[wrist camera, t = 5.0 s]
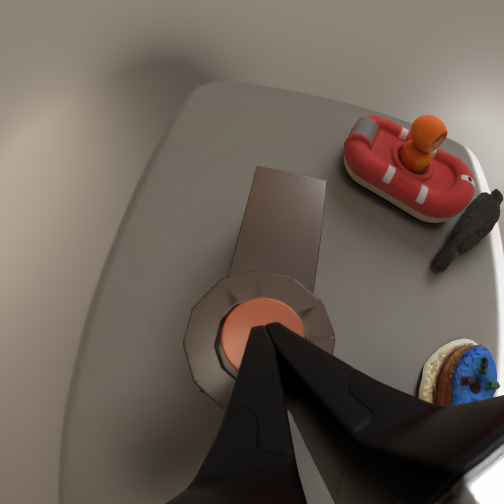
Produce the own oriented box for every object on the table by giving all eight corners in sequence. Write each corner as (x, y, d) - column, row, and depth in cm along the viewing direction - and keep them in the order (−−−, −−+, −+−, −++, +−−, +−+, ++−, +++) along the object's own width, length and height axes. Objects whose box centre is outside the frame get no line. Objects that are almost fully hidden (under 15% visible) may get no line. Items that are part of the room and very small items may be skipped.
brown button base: (289, 408, 17) (319, 426, 10) (197, 389, 17) (169, 396, 10) (319, 230, 22) (350, 164, 15) (241, 214, 22) (242, 141, 15)
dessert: (423, 332, 18) (501, 328, 13) (447, 343, 21) (508, 341, 17) (401, 444, 15) (479, 455, 11) (431, 432, 19) (492, 438, 14)
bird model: (495, 171, 21) (481, 183, 24) (433, 254, 19) (417, 262, 22) (514, 197, 21) (499, 206, 23) (456, 286, 19) (438, 292, 21)
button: (288, 384, 11) (297, 386, 9) (216, 370, 11) (212, 369, 9) (301, 316, 12) (311, 305, 10) (232, 302, 12) (231, 289, 10)
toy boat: (445, 245, 22) (500, 199, 15) (327, 177, 24) (354, 108, 17) (455, 185, 24) (496, 137, 17) (354, 126, 26) (378, 65, 19)
